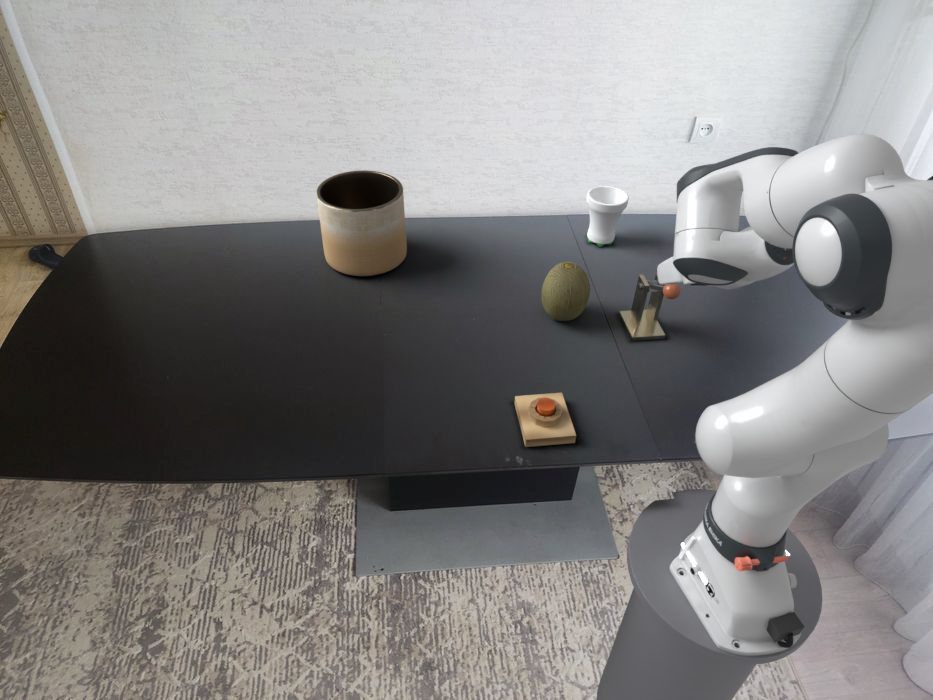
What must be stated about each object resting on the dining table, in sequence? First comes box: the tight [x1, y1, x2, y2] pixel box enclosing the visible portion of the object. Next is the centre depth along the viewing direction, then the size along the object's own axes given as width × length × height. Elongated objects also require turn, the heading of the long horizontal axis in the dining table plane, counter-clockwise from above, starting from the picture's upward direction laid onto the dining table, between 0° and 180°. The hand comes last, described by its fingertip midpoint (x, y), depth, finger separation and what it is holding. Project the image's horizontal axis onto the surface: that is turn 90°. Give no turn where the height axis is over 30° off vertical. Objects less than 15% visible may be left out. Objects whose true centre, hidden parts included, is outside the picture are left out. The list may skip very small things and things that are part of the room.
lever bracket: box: [618, 273, 666, 342], centre depth 153 cm, size 10×8×14 cm
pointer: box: [646, 279, 681, 300], centre depth 144 cm, size 14×4×4 cm, turn 7°
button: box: [537, 398, 555, 417], centre depth 131 cm, size 4×4×2 cm
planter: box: [316, 169, 408, 277], centre depth 172 cm, size 22×22×20 cm
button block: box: [514, 392, 577, 448], centre depth 133 cm, size 12×10×4 cm
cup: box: [585, 185, 630, 248], centre depth 182 cm, size 11×11×14 cm
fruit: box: [541, 261, 591, 322], centre depth 156 cm, size 11×11×15 cm
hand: (696, 277), depth 128 cm, fingers closed
